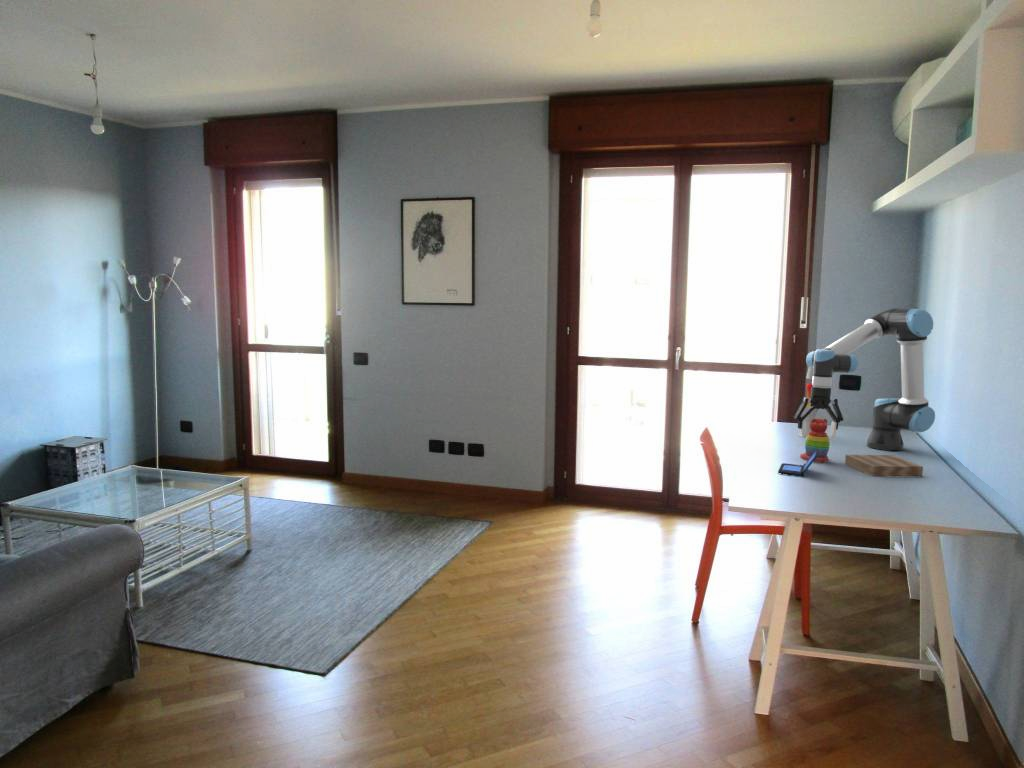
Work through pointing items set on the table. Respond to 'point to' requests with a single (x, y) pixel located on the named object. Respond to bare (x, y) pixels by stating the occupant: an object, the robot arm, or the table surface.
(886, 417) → the robot arm
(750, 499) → the table surface
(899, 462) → the walnut plinth
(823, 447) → the stacking bear
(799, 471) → the handheld game console
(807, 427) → the lava lamp
